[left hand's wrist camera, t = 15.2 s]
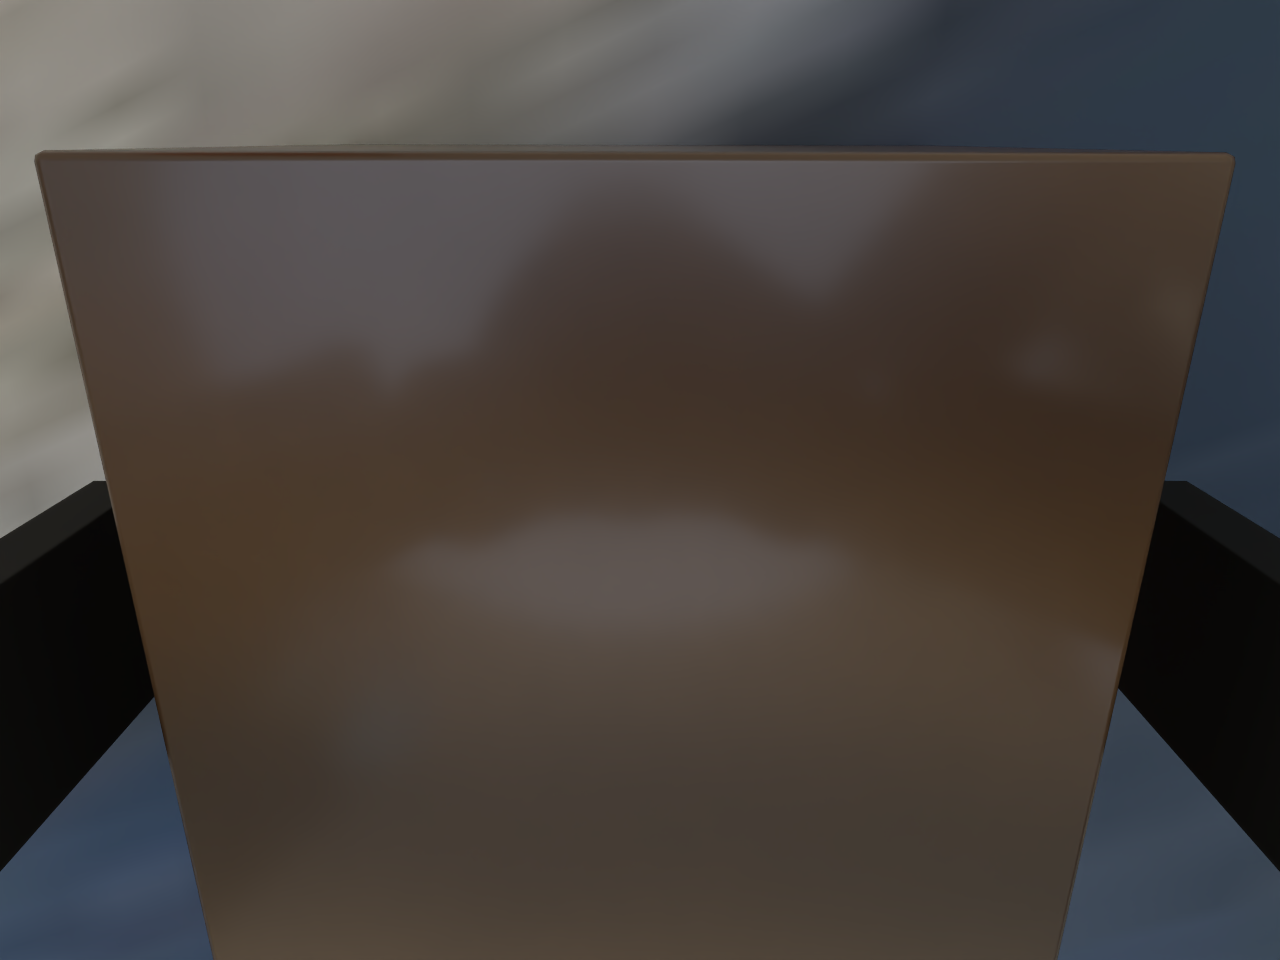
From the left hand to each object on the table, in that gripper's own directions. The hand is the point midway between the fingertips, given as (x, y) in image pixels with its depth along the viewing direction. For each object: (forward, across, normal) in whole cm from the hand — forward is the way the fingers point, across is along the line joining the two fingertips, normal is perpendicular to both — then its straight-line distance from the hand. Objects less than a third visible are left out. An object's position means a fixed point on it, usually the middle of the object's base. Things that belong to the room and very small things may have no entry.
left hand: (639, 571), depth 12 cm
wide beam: (+4, 0, -24) cm, 25 cm away
